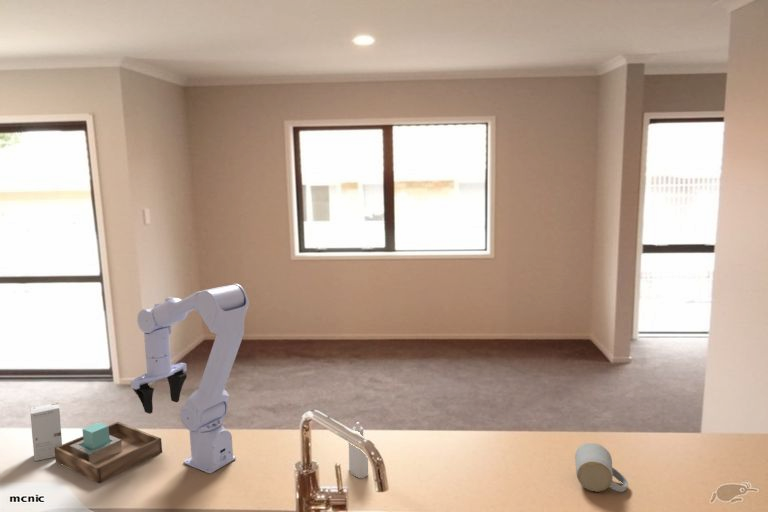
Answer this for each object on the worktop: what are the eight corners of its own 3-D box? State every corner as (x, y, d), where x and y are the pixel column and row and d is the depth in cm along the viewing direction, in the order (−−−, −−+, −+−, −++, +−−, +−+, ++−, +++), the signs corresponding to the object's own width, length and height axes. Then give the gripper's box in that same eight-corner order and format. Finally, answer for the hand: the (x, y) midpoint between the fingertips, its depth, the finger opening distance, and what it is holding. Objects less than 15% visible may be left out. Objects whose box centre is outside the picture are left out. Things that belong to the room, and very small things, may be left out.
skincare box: (34, 462, 128) (29, 414, 126) (34, 454, 132) (28, 407, 130) (64, 454, 131) (59, 407, 129) (63, 447, 135) (58, 401, 133)
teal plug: (110, 453, 130) (108, 426, 129) (94, 460, 126) (92, 432, 125) (101, 449, 132) (98, 422, 131) (85, 456, 128) (82, 428, 127)
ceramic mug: (575, 491, 114) (577, 457, 112) (574, 471, 121) (576, 439, 120) (629, 500, 110) (632, 466, 109) (624, 479, 118) (627, 446, 117)
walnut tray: (162, 451, 132) (161, 438, 132) (99, 483, 119) (97, 468, 118) (118, 434, 141) (117, 421, 141) (55, 461, 128) (54, 448, 127)
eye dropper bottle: (368, 465, 125) (367, 416, 123) (368, 479, 119) (367, 428, 117) (349, 466, 125) (348, 417, 123) (348, 479, 119) (347, 428, 117)
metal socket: (122, 451, 130) (121, 439, 130) (89, 466, 124) (88, 454, 123) (103, 443, 135) (102, 431, 134) (70, 457, 128) (69, 445, 127)
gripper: (172, 344, 141) (176, 393, 143) (121, 360, 129) (125, 414, 131) (190, 348, 137) (194, 398, 139) (139, 365, 125) (143, 420, 127)
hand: (162, 406), depth 135 cm, fingers open, 7 cm apart
